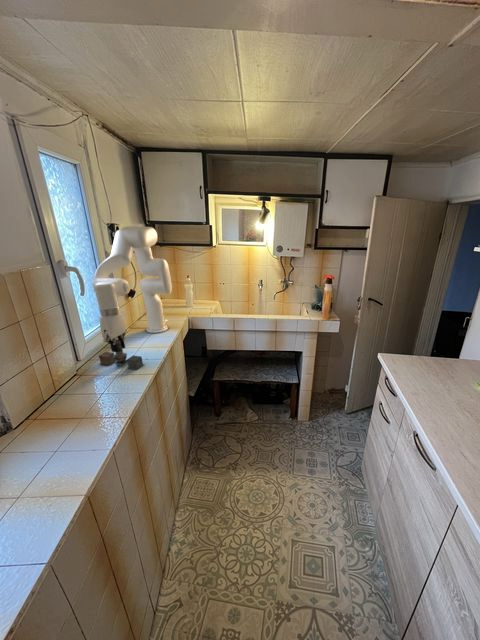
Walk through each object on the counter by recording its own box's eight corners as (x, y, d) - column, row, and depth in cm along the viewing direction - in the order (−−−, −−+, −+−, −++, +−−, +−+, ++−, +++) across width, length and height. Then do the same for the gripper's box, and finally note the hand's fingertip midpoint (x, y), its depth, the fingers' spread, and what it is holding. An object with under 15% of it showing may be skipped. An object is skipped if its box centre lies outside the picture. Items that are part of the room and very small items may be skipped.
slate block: (134, 363, 133) (133, 355, 131) (143, 365, 132) (141, 356, 130) (128, 368, 129) (126, 359, 127) (137, 369, 128) (135, 360, 126)
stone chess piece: (123, 365, 128) (117, 341, 123) (111, 364, 129) (106, 340, 124) (131, 360, 133) (126, 336, 128) (120, 358, 134) (114, 335, 129)
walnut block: (107, 360, 136) (105, 351, 134) (115, 361, 135) (113, 352, 133) (100, 364, 132) (98, 355, 130) (109, 365, 131) (106, 356, 129)
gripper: (116, 305, 129) (123, 342, 137) (87, 316, 114) (98, 356, 122) (130, 306, 127) (137, 343, 135) (103, 318, 113) (113, 358, 120)
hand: (118, 349), depth 128 cm, fingers closed on stone chess piece, 3 cm apart
